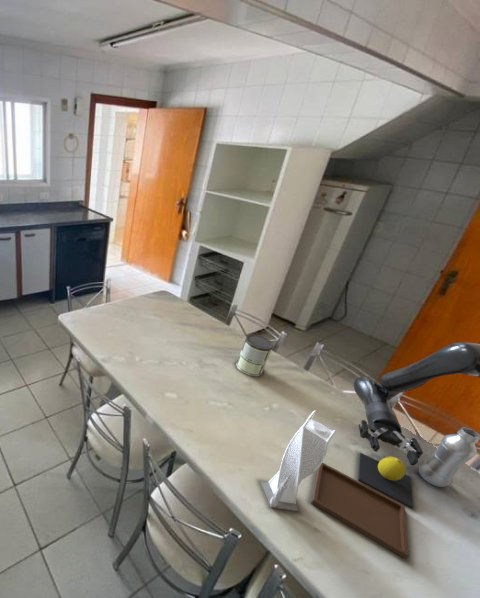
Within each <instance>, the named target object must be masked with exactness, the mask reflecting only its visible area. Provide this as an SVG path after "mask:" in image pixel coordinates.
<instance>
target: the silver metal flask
mask: <svg viewBox="0 0 480 598" xmlns="http://www.w3.org/2000/svg"><path fill="white" fill-rule="evenodd" d="M479 441H480V434H479V433H478V432H477V431H475V430H474V429H471V428H469V427H464V426H463V427H461V428H460V429H458V431H456V433H449V434H445V435H444V436H443V437H442V438H441V440H440V442H439V445H438V447H437V448H436V450H435V451H434V453H433V454H431V456H429V458H427V459H426V460H424V461H422V462H421V463H420V464H419V467H418V468H417V469H418V470H417V471H418V473H419V475H420V477H421V478H422V479H423V480H424V481H426V482H427V483H428V484H430V485H433V486H435V487H439V488H445V487H447V486H449V485H450V484H451V483H452V482H453V479H454V476H455V475H456V474H457V472H458V470H459V469H460V468H461V467H462V466H463V465H465V464H466V463H468V462H469V461H470V460H472V459H473V458H474V457H475V456H477V452H478V449H477V446H476V444H478V443H479Z"/></svg>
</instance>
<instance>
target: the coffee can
mask: <svg viewBox="0 0 480 598" xmlns="http://www.w3.org/2000/svg"><path fill="white" fill-rule="evenodd" d="M273 348H274V343H273V342H272V341H271V340H270V339H269V338H268V337H265V336H262V335H259V334H254V333H253V334H251V333H250V334H246V336H245V338H244V342H243V345H242V348H241V351H240V354H239V356H238V359H237V362H236V363H235V364H236V368H237V369H238V371H240V372H241V373H243V374H245V375H248V376H250V377H259V376H262V374H263V371H264V369H265V366H266V364H267V361H268V359H269V357H270V356H271V352H272V350H273Z"/></svg>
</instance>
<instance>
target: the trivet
mask: <svg viewBox="0 0 480 598" xmlns="http://www.w3.org/2000/svg"><path fill="white" fill-rule="evenodd" d="M379 462H380V460H376V459H375V458H372V457H371V456H369V455H366V454H364V453H362V452H360V453H359V460H358V478H357V481H358V482H360V483H362V484H364V485H366V486H368V487H370V488H372V489H373V490H375V491H377V492H379V493H381V494H383V495H385V496H387V497H389V498H390V499H392V500H394V501H396V502H398V503H400V504H402V505H404V506H405V507H408V508H410V509H413V508H414V504H413V494H412V484H411V476H410V475H407V474H405V475H404V476H403V477H402V478H401V479H400V480H397V481H392V480H388V479H386V478H384V477H383V476H382V475H381V474H380V472H379V470H378V464H379Z"/></svg>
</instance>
